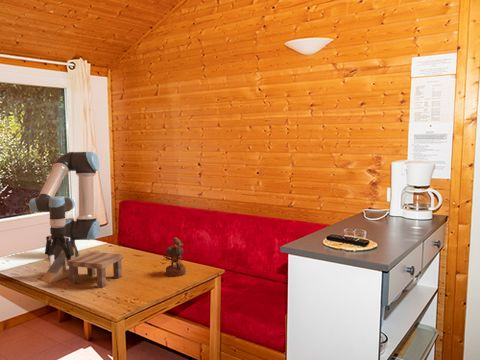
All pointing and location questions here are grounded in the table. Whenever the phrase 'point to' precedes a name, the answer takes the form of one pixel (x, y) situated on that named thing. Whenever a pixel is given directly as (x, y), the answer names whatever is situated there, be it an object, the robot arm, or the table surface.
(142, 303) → the table surface
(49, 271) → the sandwich container
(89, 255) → the stool
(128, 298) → the table surface
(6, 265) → the table surface
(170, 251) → the small figurine
